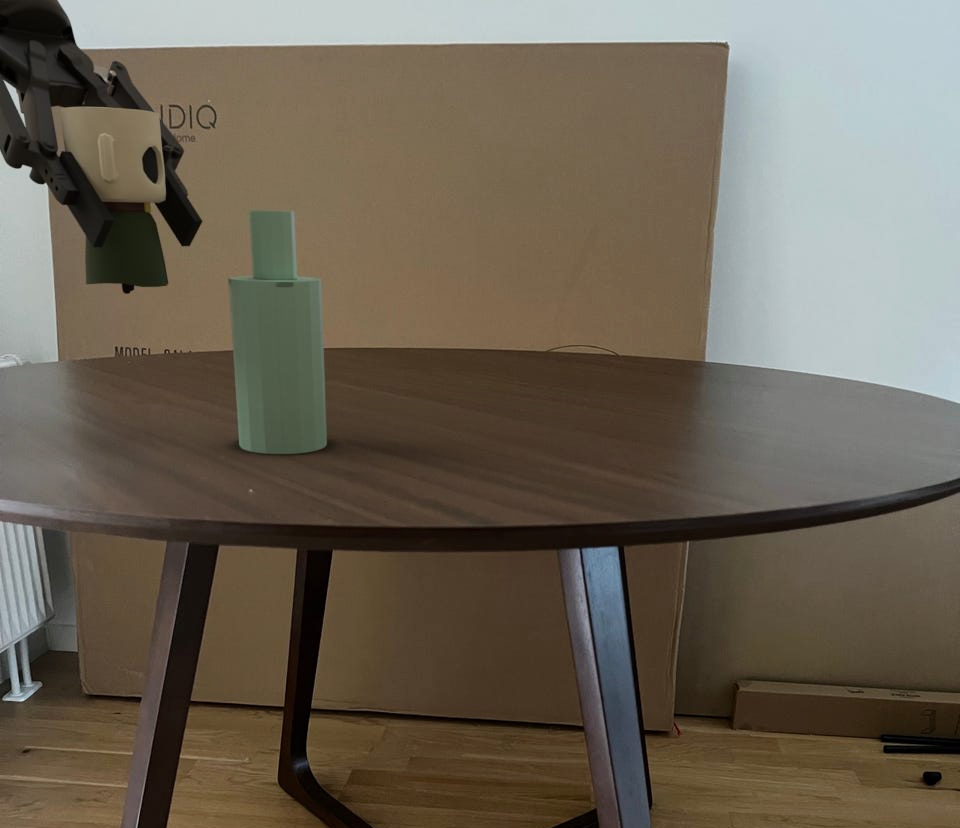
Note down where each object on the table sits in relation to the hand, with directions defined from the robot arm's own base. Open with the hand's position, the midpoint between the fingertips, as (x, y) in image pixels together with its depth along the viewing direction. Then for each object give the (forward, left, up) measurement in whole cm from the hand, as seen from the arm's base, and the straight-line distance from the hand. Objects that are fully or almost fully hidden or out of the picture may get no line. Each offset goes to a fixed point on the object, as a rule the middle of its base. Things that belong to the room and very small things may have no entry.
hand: (149, 233), depth 79 cm
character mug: (-2, +3, -5) cm, 6 cm away
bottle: (+9, -1, -17) cm, 20 cm away
